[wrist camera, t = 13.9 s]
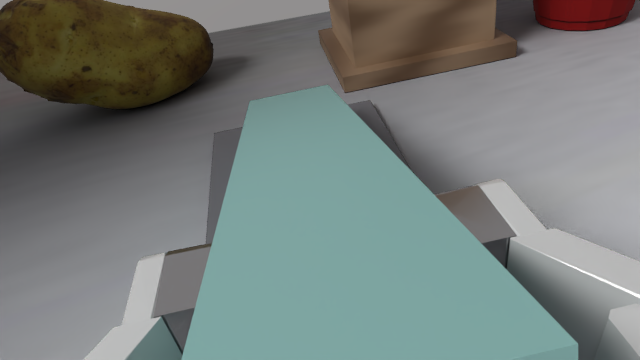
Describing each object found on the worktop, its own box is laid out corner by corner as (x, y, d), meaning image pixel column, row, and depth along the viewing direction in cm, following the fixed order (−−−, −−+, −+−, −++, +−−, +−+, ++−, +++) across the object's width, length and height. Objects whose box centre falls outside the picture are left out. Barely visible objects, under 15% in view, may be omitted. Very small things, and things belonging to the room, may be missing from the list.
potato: (211, 112, 29) (168, -21, 25) (16, 146, 30) (-62, 22, 25) (224, 64, 36) (192, -47, 32) (65, 93, 36) (11, -13, 32)
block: (226, 603, 5) (159, 442, 4) (260, 146, 24) (249, 100, 23) (578, 515, 5) (578, 344, 4) (336, 130, 24) (327, 84, 23)
